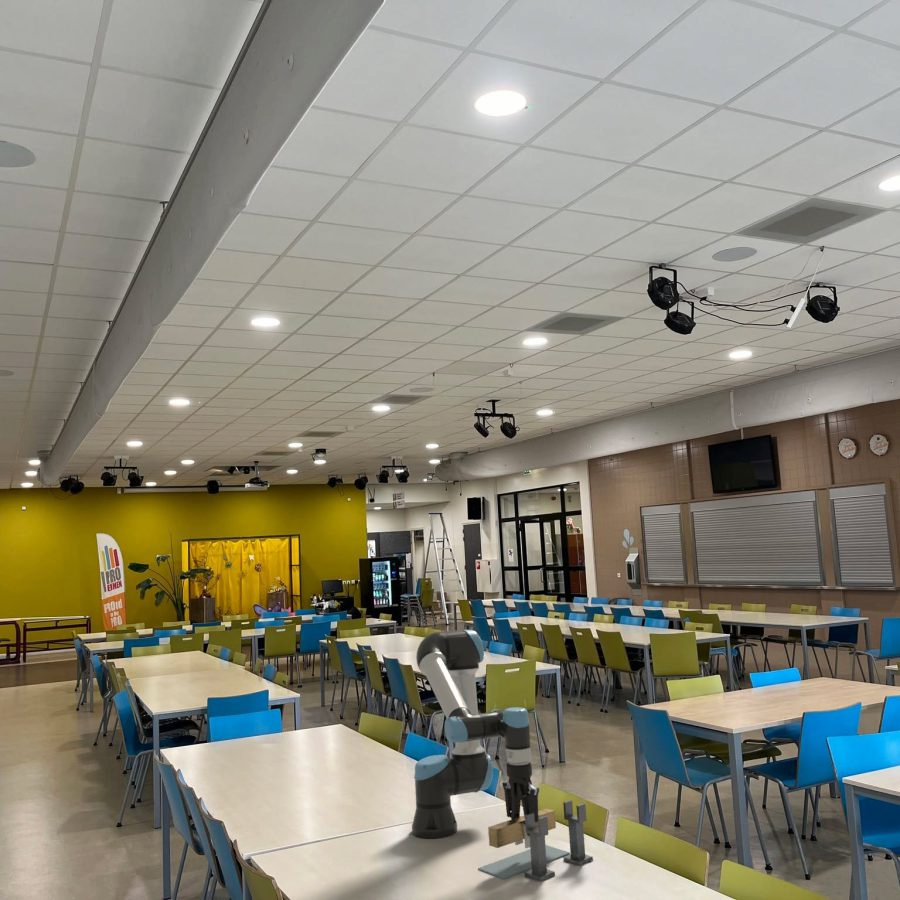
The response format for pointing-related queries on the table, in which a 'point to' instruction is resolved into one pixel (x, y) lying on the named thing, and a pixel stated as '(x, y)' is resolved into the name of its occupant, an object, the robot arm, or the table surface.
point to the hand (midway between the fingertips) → (524, 845)
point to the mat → (519, 863)
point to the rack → (538, 834)
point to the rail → (516, 829)
